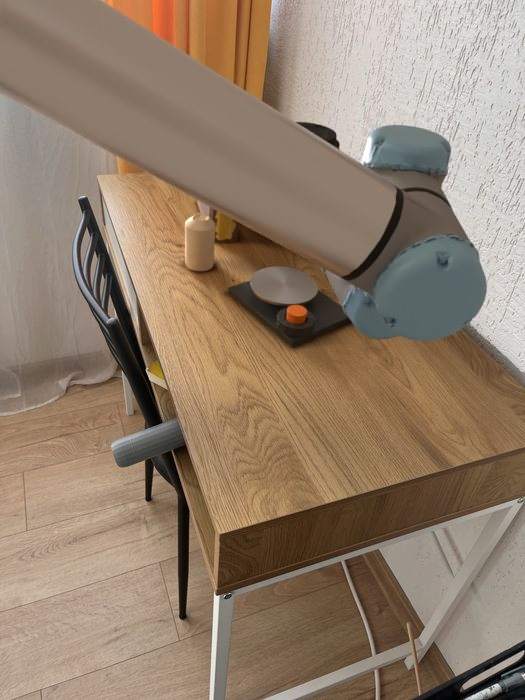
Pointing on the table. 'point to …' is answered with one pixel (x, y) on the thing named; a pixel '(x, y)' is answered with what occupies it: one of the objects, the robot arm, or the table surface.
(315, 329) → the scale
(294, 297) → the scale pan
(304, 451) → the table surface
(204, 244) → the candle
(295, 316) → the tare button
